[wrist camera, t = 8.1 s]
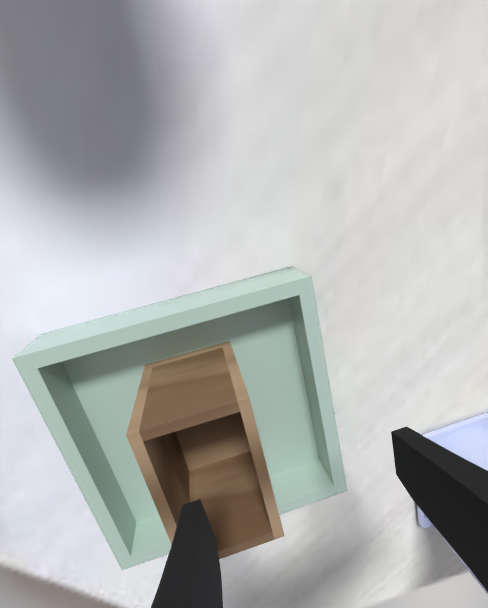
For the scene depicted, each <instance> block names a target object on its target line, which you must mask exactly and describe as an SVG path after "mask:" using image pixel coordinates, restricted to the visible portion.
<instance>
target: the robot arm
mask: <svg viewBox="0 0 488 608" xmlns="http://www.w3.org/2000/svg"><path fill="white" fill-rule="evenodd" d="M391 433H392V442H393V450H394V459H395V467H396V475H397V476H398V478H399V479H400V481H401V482H402V484H403V485H404V487H405V488H406V490H407V491H408V493H409V494H410V496H411V497H412V499H413V500H414V502H415V503H416V504H417V511H418V523H419V525H420V526H421V527H422V528H428V527H431V526H434V527H435V529H436V530H437V531H438V532H439V534H440V535H441V536H442V537H443V539H444V540H445V541H446V542H447V544H448V545H449V546H450V547H451V549H452V550H453V551H454V552H455V554H456V555H457V556H458V558H459V559H460V560H461V561H462V563H463V564H464V565H465V566H466V568H467V569H468V570H469V571H470V573H471V574H472V575H473V576H474V578H475V579H476V580H477V581H478V583H479V584H480V585H481V587H482V588H483V589H484V590H485V592H486V593H487V594H488V412H487V413H484V414H481V415H478V416H475V417H472V418H469V419H466V420H463V421H460V422H457V423H455V424H452V425H449V426H446V427H443V428H440V429H437V430H434V431H431V432H428V433H425V434H423V435H421V434H419V433H417V432H415V431H414V430H412V429H410V428H408V427H404V428H401V429H398V430H395V431H392V432H391ZM151 608H223V601H222V581H221V571H220V563H219V556H218V549H217V542H216V538H215V536H214V533H213V531H212V528H211V525H210V523H209V520H208V518H207V515H206V512H205V510H204V507H203V505H202V502H201V500H200V499H198V500H196V501H193V502H190V503H187V504H184V505H183V506H182V507H181V510H180V514H179V519H178V523H177V527H176V531H175V534H174V538H173V542H172V545H171V549H170V552H169V555H168V559H167V562H166V565H165V568H164V571H163V575H162V578H161V581H160V584H159V587H158V590H157V592H156V595H155V598H154V601H153V604H152V606H151Z"/></svg>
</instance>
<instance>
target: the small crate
mask: <svg viewBox="0 0 488 608" xmlns="http://www.w3.org/2000/svg"><path fill="white" fill-rule="evenodd" d="M126 436H127V439H128V441H129V444H130V446H131V448H132V451H133V453H134V456H135V458H136V461H137V463H138V465H139V468H140V470H141V473H142V475H143V477H144V480H145V482H146V485H147V487H148V489H149V492H150V494H151V497H152V499H153V501H154V504H155V506H156V509H157V511H158V513H159V516H160V518H161V521H162V523H163V525H164V528H165V530H166V533H167V535H168V537H169V540H170V542H171V545H172V542H173V538H174V534H175V531H176V527H177V523H178V519H179V514H180V510H181V507H182V506H183V505H184V504H187V503H190V502H193V501H196V500H198V499H200V500H201V502H202V505H203V507H204V510H205V512H206V515H207V518H208V520H209V523H210V525H211V528H212V531H213V533H214V536H215V538H216V542H217V549H218V556H219V559H221V558H224V557H227V556H230V555H232V554H235V553H238V552H241V551H244V550H247V549H249V548H252V547H255V546H258V545H261V544H263V543H266V542H269V541H272V540H275V539H277V538H280V537H283V536H284V532H283V528H282V524H281V521H280V517H279V513H278V509H277V505H276V501H275V497H274V493H273V489H272V485H271V481H270V477H269V473H268V469H267V465H266V461H265V457H264V453H263V449H262V445H261V441H260V437H259V433H258V429H257V425H256V421H255V417H254V414H253V410H252V406H251V402H250V398H249V395H248V392H247V389H246V386H245V383H244V381H243V378H242V375H241V372H240V369H239V366H238V363H237V360H236V358H235V355H234V352H233V349H232V346H231V343H230V341H228V342H224V343H220V344H217V345H213V346H210V347H206V348H203V349H199V350H196V351H192V352H188V353H185V354H181V355H178V356H174V357H171V358H167V359H164V360H160V361H156V362H153V363H149V364H146V365H145V366H144V370H143V374H142V377H141V381H140V385H139V389H138V392H137V396H136V400H135V404H134V407H133V411H132V415H131V419H130V422H129V426H128V430H127V433H126Z"/></svg>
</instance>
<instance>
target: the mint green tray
mask: <svg viewBox="0 0 488 608" xmlns="http://www.w3.org/2000/svg"><path fill="white" fill-rule="evenodd" d="M228 341H230V343H231V346H232V349H233V352H234V355H235V358H236V360H237V363H238V366H239V369H240V372H241V375H242V378H243V381H244V383H245V386H246V389H247V392H248V395H249V398H250V402H251V406H252V410H253V414H254V417H255V421H256V425H257V429H258V433H259V437H260V441H261V445H262V449H263V453H264V457H265V461H266V465H267V469H268V473H269V477H270V481H271V485H272V489H273V493H274V497H275V501H276V505H277V509H278V513H279V515H280V514H282V513H285V512H288V511H291V510H294V509H296V508H299V507H302V506H305V505H308V504H311V503H313V502H316V501H319V500H322V499H325V498H327V497H330V496H333V495H336V494H339V493H342V492H344V491H347V487H346V481H345V475H344V469H343V463H342V457H341V451H340V445H339V439H338V432H337V426H336V420H335V414H334V408H333V402H332V396H331V390H330V384H329V378H328V372H327V366H326V360H325V354H324V348H323V342H322V336H321V330H320V324H319V318H318V312H317V306H316V300H315V294H314V288H313V282H312V276H311V275H309V274H307V273H305V272H303V271H301V270H299V269H297V268H294V267H288V268H285V269H281V270H277V271H274V272H270V273H266V274H262V275H259V276H255V277H251V278H248V279H244V280H240V281H237V282H233V283H229V284H225V285H222V286H218V287H214V288H211V289H207V290H203V291H200V292H196V293H192V294H188V295H185V296H181V297H177V298H174V299H170V300H166V301H162V302H159V303H155V304H151V305H148V306H144V307H140V308H137V309H133V310H129V311H125V312H122V313H118V314H114V315H111V316H107V317H103V318H100V319H96V320H92V321H88V322H85V323H81V324H77V325H74V326H70V327H66V328H62V329H59V330H55V331H51V332H48V333H44V334H40V335H39V336H38V337H37V338H36V339H35V340H33V341H32V342H31V343H30V344H29V345H27V346H26V347H25V348H24V349H23V350H21V351H20V352H19V353H18V354H17V355H15V356H14V357H13V358H12V359H13V361H14V363H15V365H16V367H17V369H18V371H19V373H20V375H21V377H22V379H23V381H24V383H25V385H26V386H27V388H28V390H29V392H30V394H31V396H32V398H33V400H34V402H35V404H36V406H37V408H38V410H39V411H40V413H41V415H42V417H43V419H44V421H45V423H46V425H47V427H48V429H49V431H50V433H51V435H52V436H53V438H54V440H55V442H56V444H57V446H58V448H59V450H60V452H61V454H62V456H63V458H64V460H65V461H66V463H67V465H68V467H69V469H70V471H71V473H72V475H73V477H74V479H75V481H76V483H77V485H78V486H79V488H80V490H81V492H82V494H83V496H84V498H85V500H86V502H87V504H88V506H89V508H90V510H91V511H92V513H93V515H94V517H95V519H96V521H97V523H98V525H99V527H100V529H101V531H102V533H103V535H104V536H105V538H106V540H107V542H108V544H109V546H110V548H111V550H112V552H113V554H114V556H115V558H116V560H117V561H118V563H119V565H120V567H121V569H122V570H124V569H127V568H130V567H133V566H136V565H139V564H141V563H144V562H147V561H150V560H153V559H155V558H158V557H161V556H164V555H167V554H169V552H170V549H171V542H170V540H169V537H168V535H167V533H166V530H165V528H164V525H163V523H162V521H161V518H160V516H159V513H158V511H157V509H156V506H155V504H154V501H153V499H152V497H151V494H150V492H149V489H148V487H147V485H146V482H145V480H144V477H143V475H142V473H141V470H140V468H139V465H138V463H137V461H136V458H135V456H134V453H133V451H132V448H131V446H130V444H129V441H128V439H127V436H126V433H127V430H128V426H129V422H130V419H131V415H132V411H133V407H134V404H135V400H136V396H137V392H138V389H139V385H140V381H141V377H142V374H143V370H144V366H145V365H146V364H149V363H153V362H156V361H160V360H164V359H167V358H171V357H174V356H178V355H181V354H185V353H188V352H192V351H196V350H199V349H203V348H206V347H210V346H213V345H217V344H220V343H224V342H228Z"/></svg>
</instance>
